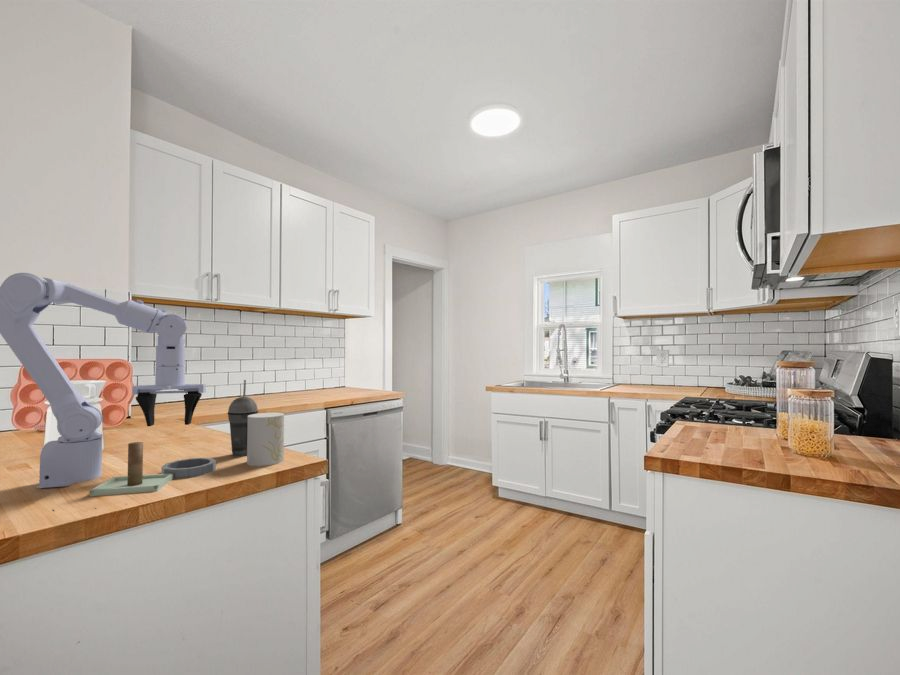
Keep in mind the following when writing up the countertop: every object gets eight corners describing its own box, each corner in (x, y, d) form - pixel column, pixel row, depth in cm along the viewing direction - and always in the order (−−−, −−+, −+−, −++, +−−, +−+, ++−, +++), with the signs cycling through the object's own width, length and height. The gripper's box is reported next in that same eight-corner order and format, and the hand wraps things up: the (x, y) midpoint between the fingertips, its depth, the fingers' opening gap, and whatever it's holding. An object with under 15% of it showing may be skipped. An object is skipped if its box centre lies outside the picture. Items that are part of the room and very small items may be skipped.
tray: (89, 500, 80) (89, 490, 80) (113, 485, 89) (113, 477, 89) (157, 495, 83) (157, 485, 83) (174, 481, 92) (174, 472, 92)
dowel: (124, 486, 85) (125, 444, 85) (131, 482, 87) (132, 442, 87) (138, 485, 85) (139, 444, 85) (144, 482, 87) (145, 441, 88)
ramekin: (154, 483, 90) (154, 470, 90) (171, 471, 100) (172, 459, 100) (207, 479, 93) (208, 467, 93) (219, 467, 103) (220, 456, 103)
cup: (270, 470, 100) (271, 417, 101) (239, 468, 102) (239, 417, 102) (290, 461, 108) (290, 413, 109) (261, 460, 110) (261, 412, 110)
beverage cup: (252, 452, 118) (253, 378, 119) (262, 457, 113) (262, 379, 113) (223, 457, 113) (224, 379, 114) (231, 462, 108) (232, 381, 109)
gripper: (126, 367, 96) (125, 429, 95) (199, 366, 100) (199, 426, 99) (140, 366, 103) (139, 424, 102) (208, 365, 106) (207, 421, 106)
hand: (169, 424), depth 101 cm, fingers open, 7 cm apart
